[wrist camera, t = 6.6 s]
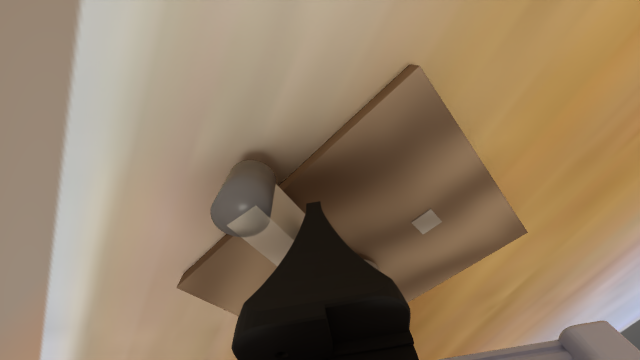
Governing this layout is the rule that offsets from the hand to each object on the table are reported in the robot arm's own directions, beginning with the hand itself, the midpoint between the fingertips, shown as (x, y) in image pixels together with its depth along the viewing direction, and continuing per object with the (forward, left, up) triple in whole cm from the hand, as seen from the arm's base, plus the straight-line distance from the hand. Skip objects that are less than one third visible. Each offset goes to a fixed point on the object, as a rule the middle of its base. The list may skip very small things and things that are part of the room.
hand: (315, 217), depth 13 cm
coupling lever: (-2, +2, -2) cm, 4 cm away
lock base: (-6, +2, -4) cm, 8 cm away
